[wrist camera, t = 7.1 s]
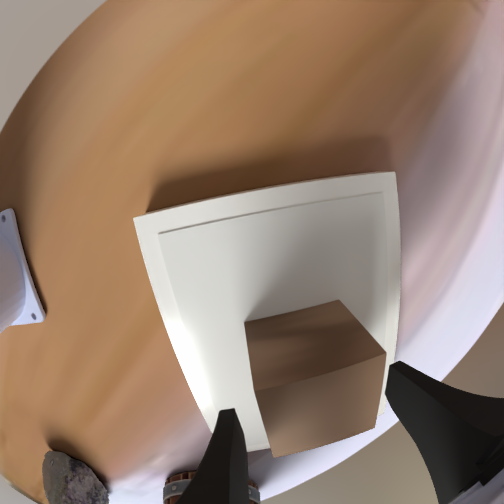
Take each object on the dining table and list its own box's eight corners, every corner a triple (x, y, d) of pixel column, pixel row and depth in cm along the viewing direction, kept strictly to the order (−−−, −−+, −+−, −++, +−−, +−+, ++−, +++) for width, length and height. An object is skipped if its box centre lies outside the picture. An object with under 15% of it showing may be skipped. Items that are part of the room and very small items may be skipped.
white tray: (222, 436, 18) (223, 455, 16) (145, 212, 13) (132, 218, 11) (374, 398, 19) (384, 414, 17) (376, 171, 14) (396, 171, 12)
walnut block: (260, 391, 15) (273, 457, 10) (243, 322, 13) (254, 391, 8) (341, 370, 15) (374, 427, 10) (339, 299, 13) (386, 352, 9)
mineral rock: (105, 498, 22) (95, 544, 13) (44, 464, 20) (26, 509, 10) (130, 482, 20) (119, 545, 11) (50, 439, 18) (24, 499, 8)
